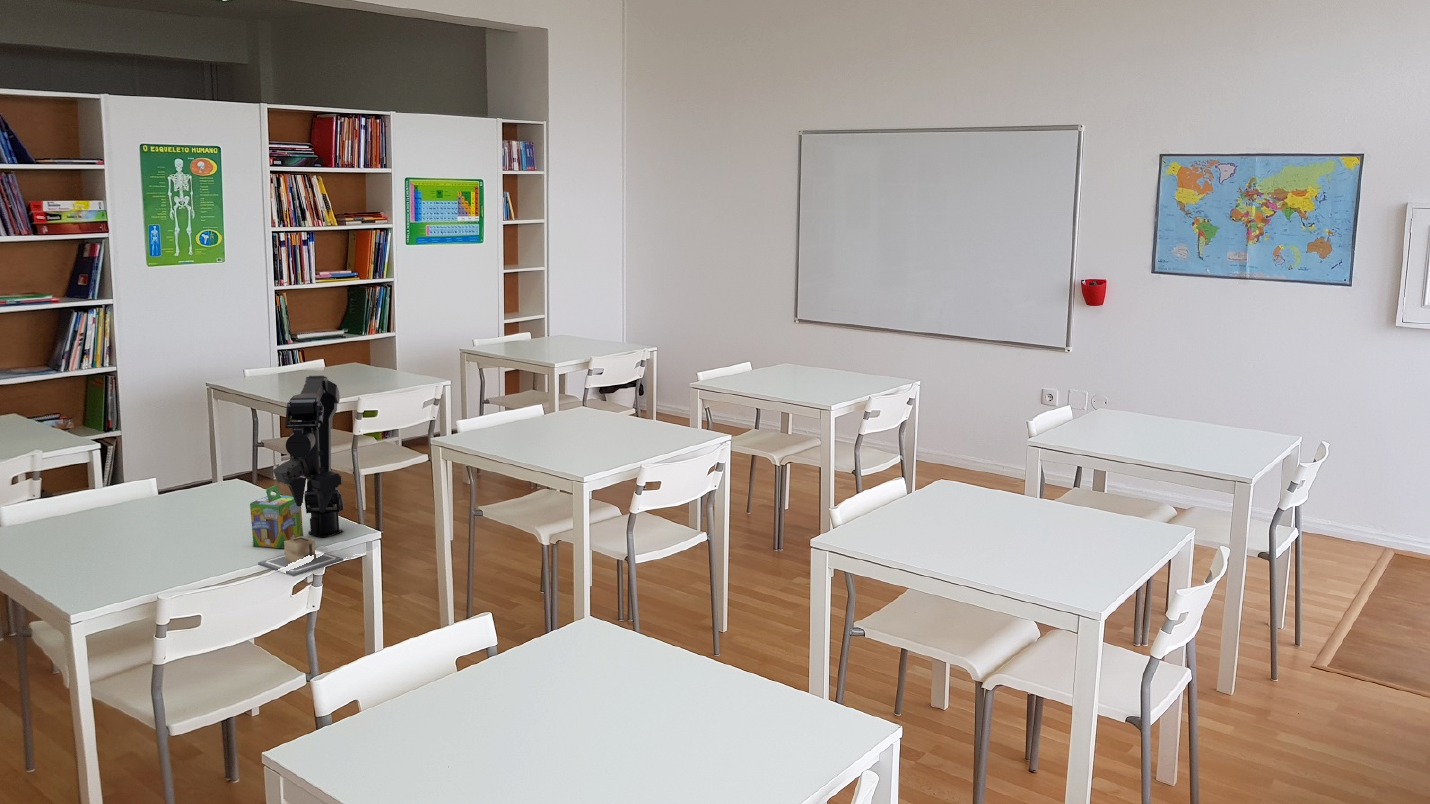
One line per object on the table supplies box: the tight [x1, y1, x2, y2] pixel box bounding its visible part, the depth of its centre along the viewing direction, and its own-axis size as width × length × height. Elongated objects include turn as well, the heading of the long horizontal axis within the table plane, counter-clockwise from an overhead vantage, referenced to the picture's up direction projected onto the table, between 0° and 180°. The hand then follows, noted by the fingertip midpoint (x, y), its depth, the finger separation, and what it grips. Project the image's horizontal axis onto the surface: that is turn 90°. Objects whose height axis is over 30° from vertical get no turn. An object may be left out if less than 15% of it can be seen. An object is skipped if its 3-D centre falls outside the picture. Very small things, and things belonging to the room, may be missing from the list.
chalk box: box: [249, 484, 304, 550], centre depth 284 cm, size 9×9×15 cm
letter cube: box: [284, 535, 316, 563], centre depth 270 cm, size 5×5×5 cm
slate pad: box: [257, 552, 344, 577], centre depth 271 cm, size 14×14×1 cm
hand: (310, 509), depth 274 cm, fingers open, 9 cm apart
